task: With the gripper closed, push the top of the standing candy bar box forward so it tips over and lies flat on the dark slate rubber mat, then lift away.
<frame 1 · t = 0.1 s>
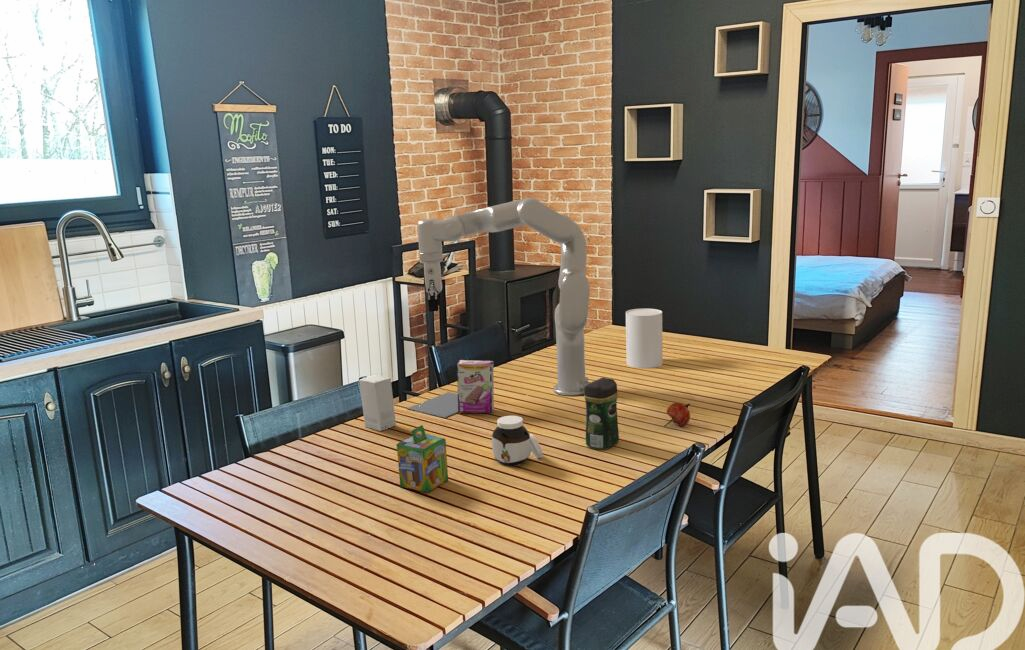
hand: (434, 308, 257), 31 cm above the table, tool pointing down, fingers open, 9 cm apart
pomegranate: (677, 426, 227), on the table
canister: (644, 363, 294), on the table
skincare box: (379, 427, 238), on the table
coffee jar: (602, 444, 215), on the table
spread jar: (519, 460, 207), on the table
slate mat: (446, 405, 256), on the table
candy bar box: (476, 411, 248), on the table, touching slate mat
chalk box: (424, 484, 195), on the table
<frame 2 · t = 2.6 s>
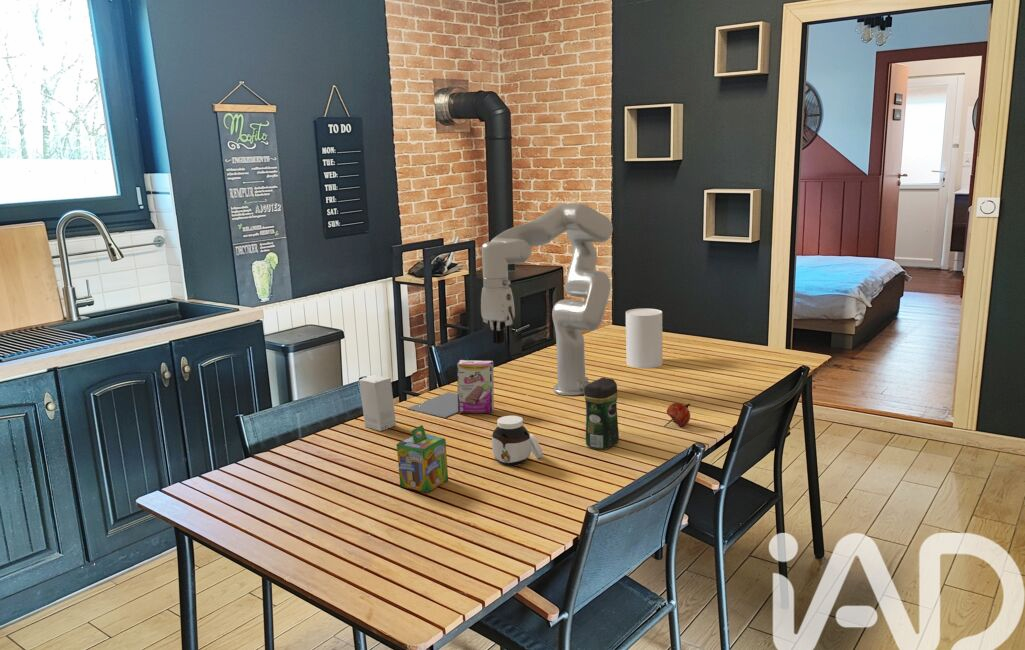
hand: (498, 342, 236), 24 cm above the table, tool pointing down, fingers closed
nothing on the table moved.
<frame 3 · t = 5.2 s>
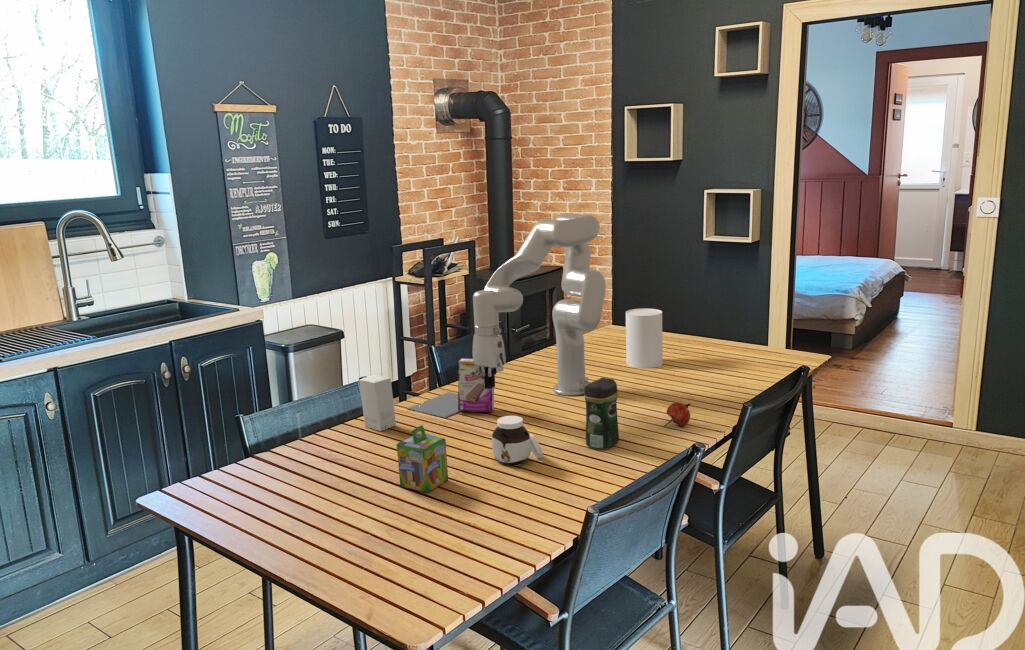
hand: (490, 387, 242), 9 cm above the table, tool pointing down, fingers closed
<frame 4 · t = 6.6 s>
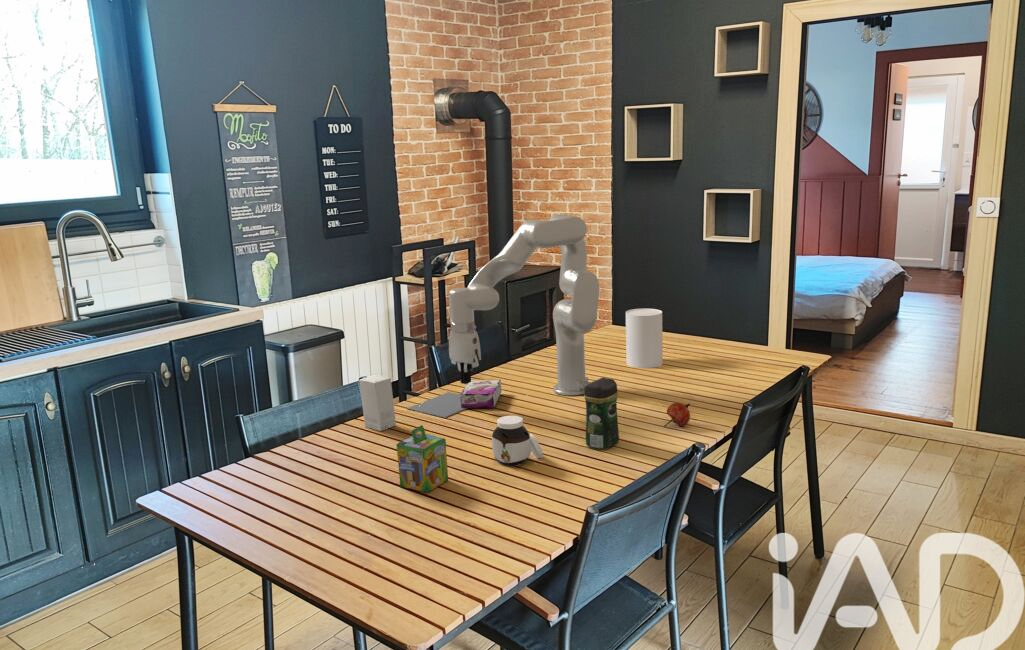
hand: (466, 382, 248), 9 cm above the table, tool pointing down, fingers closed
candy bar box: (477, 400, 249), point 3 cm above the table, touching slate mat
everything else where it was.
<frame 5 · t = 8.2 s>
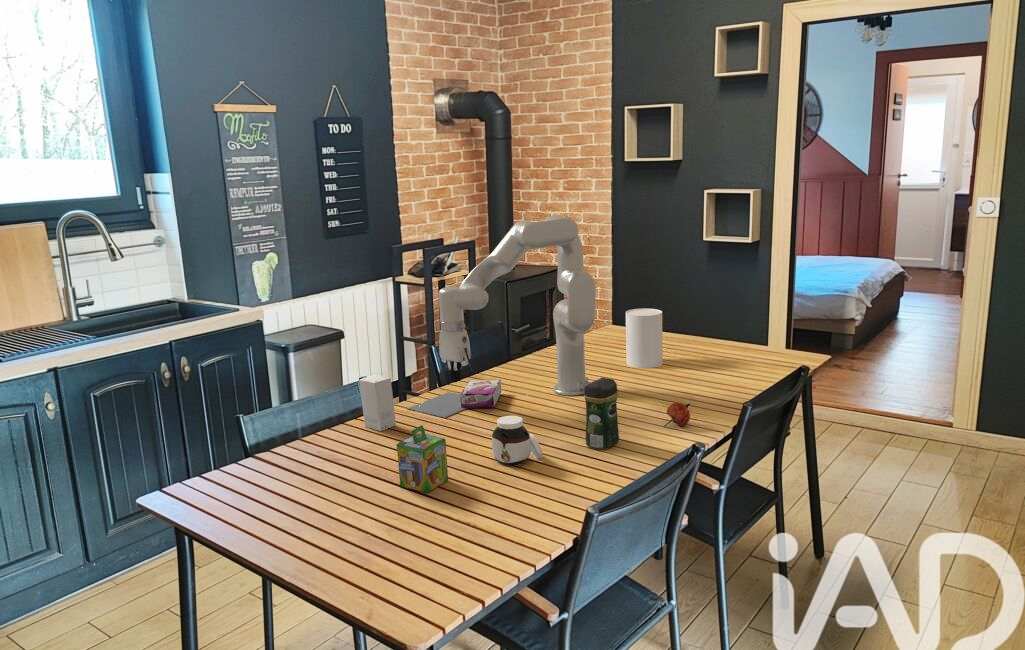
hand: (456, 381, 251), 9 cm above the table, tool pointing down, fingers closed
nothing on the table moved.
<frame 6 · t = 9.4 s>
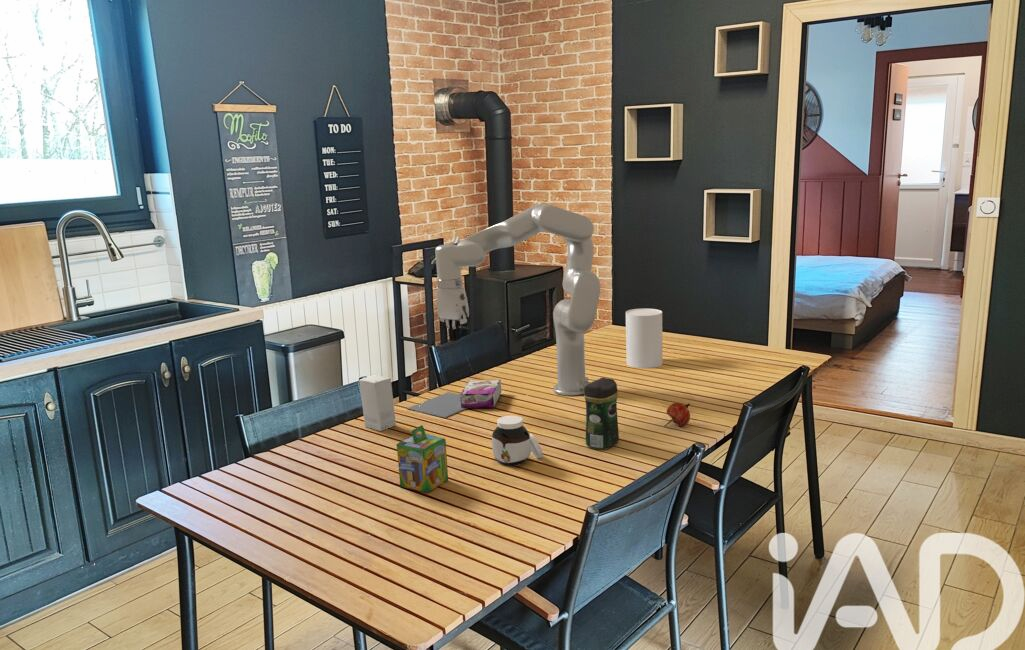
hand: (454, 340, 248), 23 cm above the table, tool pointing down, fingers closed
nothing on the table moved.
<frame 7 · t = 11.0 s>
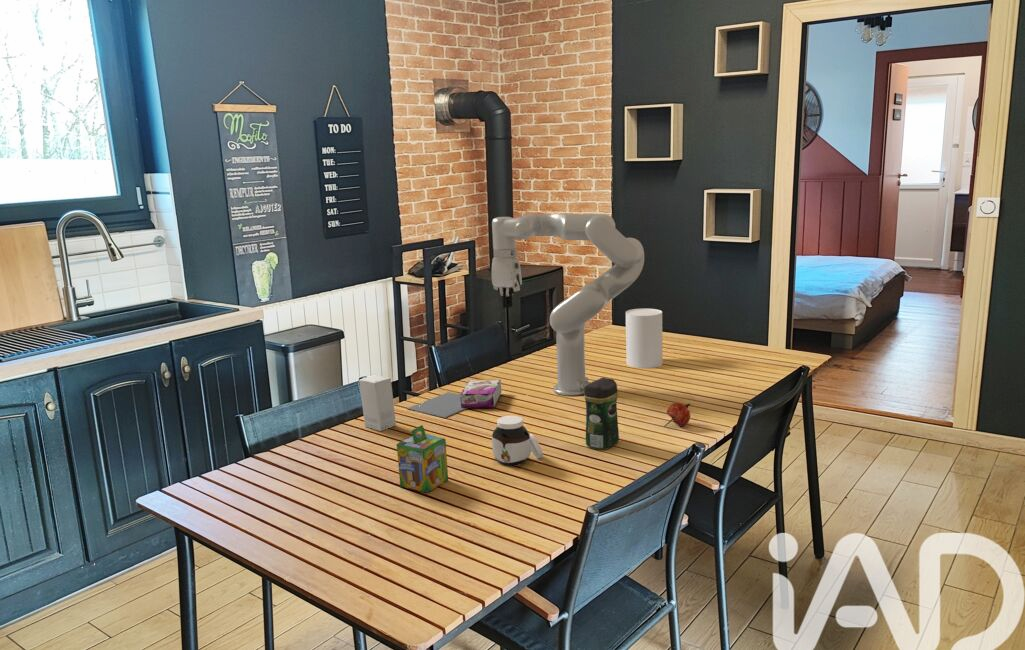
hand: (507, 306, 265), 29 cm above the table, tool pointing down, fingers closed
nothing on the table moved.
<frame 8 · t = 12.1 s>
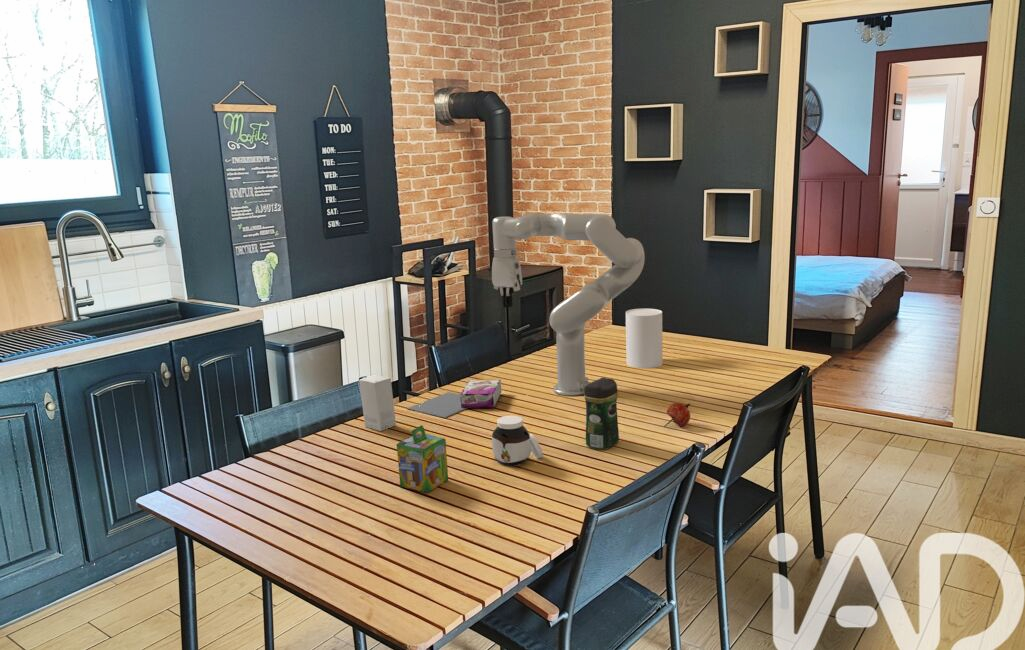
hand: (507, 306, 265), 29 cm above the table, tool pointing down, fingers closed
nothing on the table moved.
at the end: candy bar box tilted 90°; candy bar box inside the target area (4.4 cm from its centre), point 2.9 cm above the table; candy bar box touching slate mat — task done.
